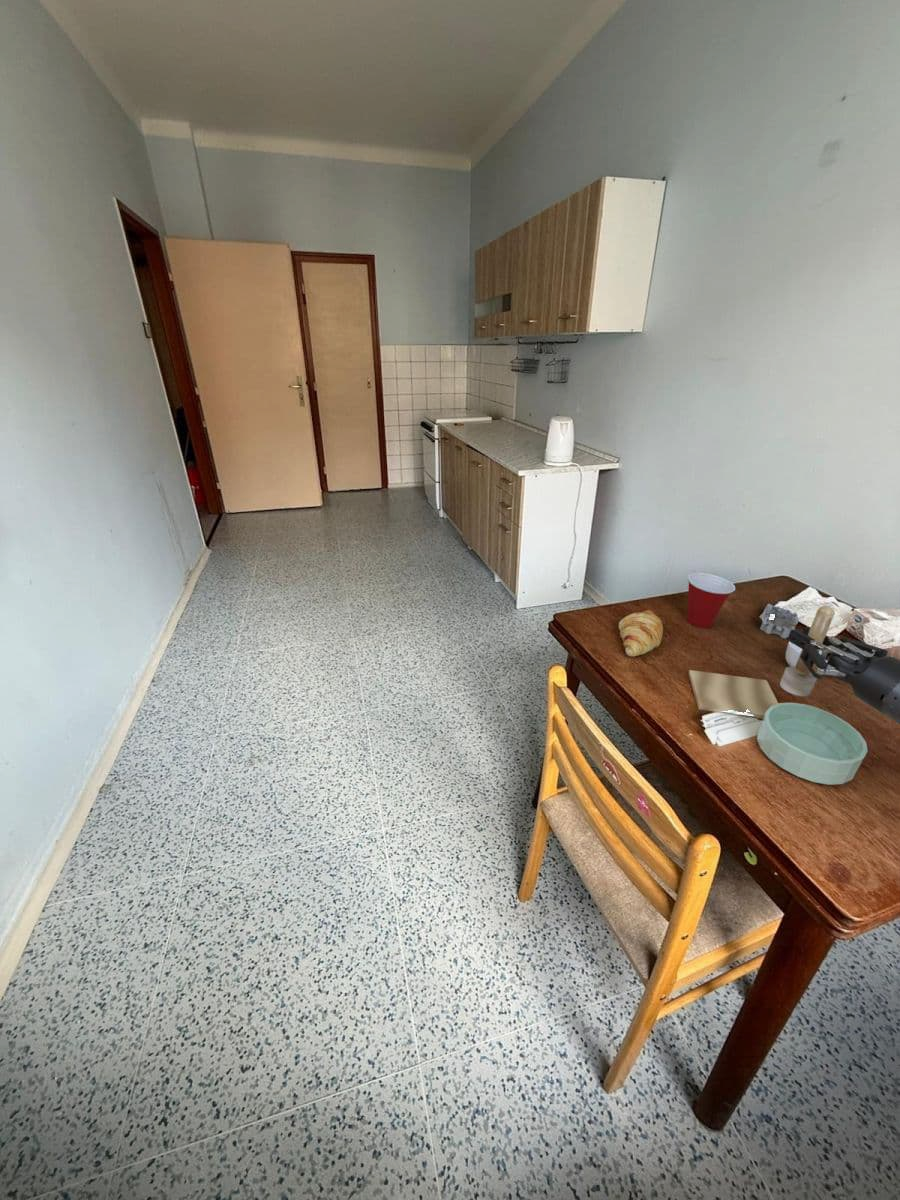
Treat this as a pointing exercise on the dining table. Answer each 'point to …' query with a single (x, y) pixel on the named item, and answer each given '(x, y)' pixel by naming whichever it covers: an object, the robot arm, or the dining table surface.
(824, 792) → the dining table surface
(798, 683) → the dish brush
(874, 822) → the dining table surface
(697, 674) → the flat beige board
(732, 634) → the dining table surface
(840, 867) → the dining table surface
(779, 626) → the egg carton
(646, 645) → the croissant
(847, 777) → the bowl
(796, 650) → the teacup
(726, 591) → the plastic cup
